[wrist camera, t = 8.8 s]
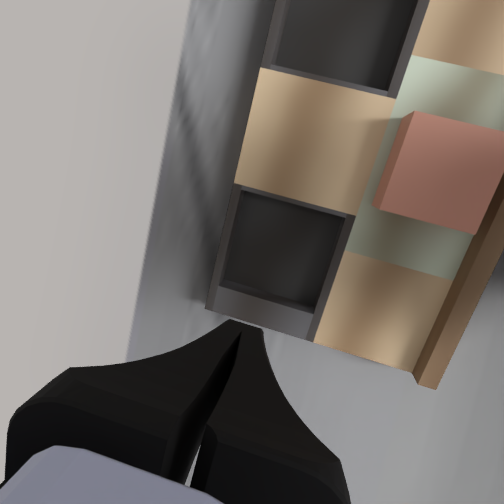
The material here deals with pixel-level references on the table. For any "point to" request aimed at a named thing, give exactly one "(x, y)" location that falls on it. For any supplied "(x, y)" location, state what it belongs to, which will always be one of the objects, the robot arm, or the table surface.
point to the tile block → (441, 171)
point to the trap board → (360, 180)
